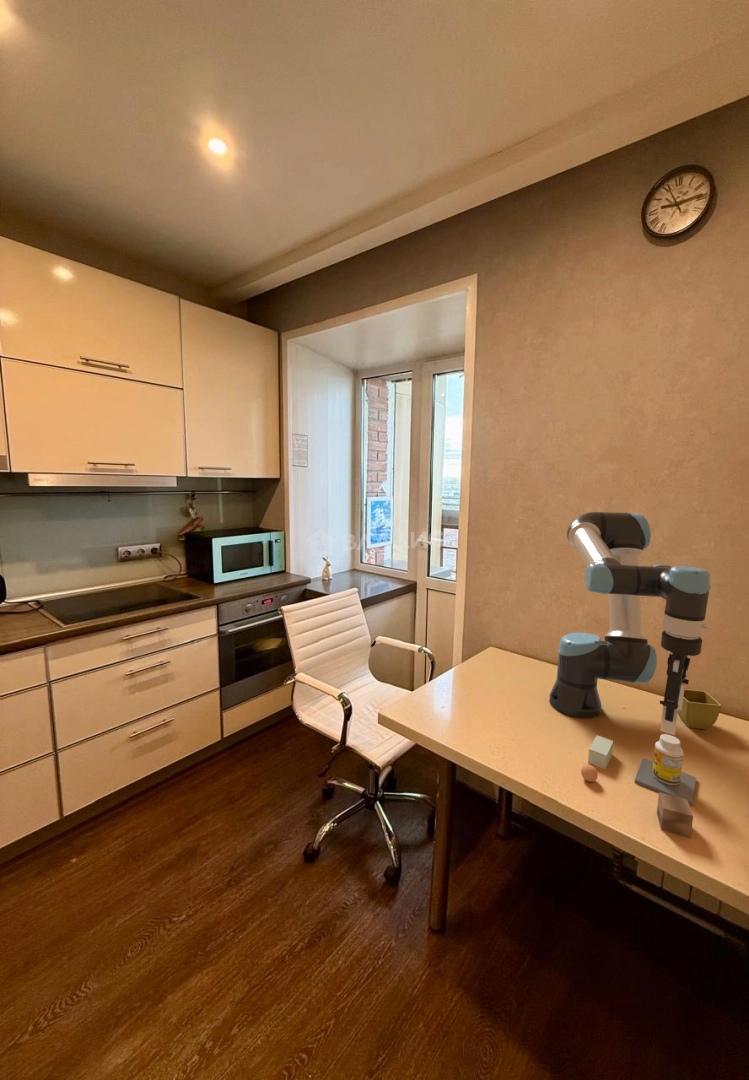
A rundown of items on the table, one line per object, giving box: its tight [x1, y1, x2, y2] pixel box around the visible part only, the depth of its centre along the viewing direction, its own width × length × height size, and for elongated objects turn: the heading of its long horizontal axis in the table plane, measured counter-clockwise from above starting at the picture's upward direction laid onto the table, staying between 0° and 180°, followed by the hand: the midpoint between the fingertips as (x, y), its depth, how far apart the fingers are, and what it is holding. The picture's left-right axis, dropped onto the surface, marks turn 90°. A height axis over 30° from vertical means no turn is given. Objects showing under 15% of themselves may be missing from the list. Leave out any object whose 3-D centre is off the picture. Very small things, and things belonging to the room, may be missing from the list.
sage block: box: [587, 735, 614, 770], centre depth 109 cm, size 4×8×4 cm, turn 140°
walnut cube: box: [656, 792, 694, 839], centre depth 88 cm, size 5×5×5 cm
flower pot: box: [677, 688, 722, 730], centre depth 126 cm, size 9×9×9 cm
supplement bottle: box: [653, 733, 684, 785], centre depth 100 cm, size 6×6×10 cm
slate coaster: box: [634, 757, 697, 807], centre depth 101 cm, size 11×11×1 cm
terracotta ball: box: [580, 764, 599, 783], centre depth 101 cm, size 4×4×4 cm
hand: (671, 719), depth 100 cm, fingers open, 13 cm apart
